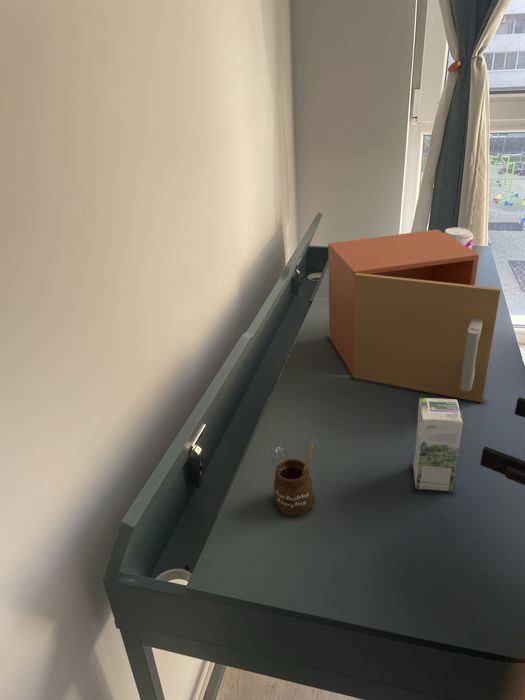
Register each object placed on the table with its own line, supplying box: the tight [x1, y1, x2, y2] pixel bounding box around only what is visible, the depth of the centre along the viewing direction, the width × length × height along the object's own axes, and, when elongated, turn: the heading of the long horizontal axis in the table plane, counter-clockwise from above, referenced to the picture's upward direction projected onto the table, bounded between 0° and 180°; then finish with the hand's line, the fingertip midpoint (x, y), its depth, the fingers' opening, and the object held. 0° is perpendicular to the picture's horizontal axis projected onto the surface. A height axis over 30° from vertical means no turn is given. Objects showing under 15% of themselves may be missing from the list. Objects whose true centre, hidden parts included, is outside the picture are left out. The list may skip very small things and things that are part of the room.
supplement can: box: [443, 226, 474, 251], centre depth 150 cm, size 8×8×15 cm
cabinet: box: [327, 229, 480, 376], centre depth 118 cm, size 18×26×24 cm
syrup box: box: [412, 397, 464, 493], centre depth 82 cm, size 6×6×14 cm
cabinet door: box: [352, 273, 502, 403], centre depth 100 cm, size 7×26×24 cm, turn 64°
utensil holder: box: [270, 441, 314, 516], centre depth 81 cm, size 6×6×12 cm
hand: (500, 429), depth 74 cm, fingers open, 13 cm apart
